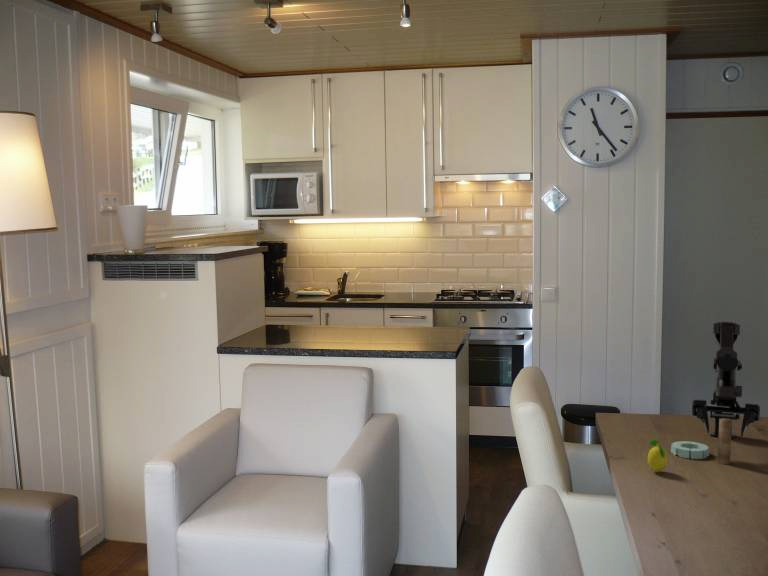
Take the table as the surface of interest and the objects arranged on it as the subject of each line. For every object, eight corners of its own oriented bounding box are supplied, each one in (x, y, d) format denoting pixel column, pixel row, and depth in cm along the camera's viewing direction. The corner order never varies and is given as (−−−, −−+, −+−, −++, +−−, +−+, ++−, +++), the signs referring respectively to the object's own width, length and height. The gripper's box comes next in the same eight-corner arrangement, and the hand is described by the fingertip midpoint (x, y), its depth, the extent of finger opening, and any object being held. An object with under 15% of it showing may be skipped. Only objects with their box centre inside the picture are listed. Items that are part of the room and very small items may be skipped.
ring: (679, 447, 262) (680, 439, 262) (713, 453, 256) (713, 445, 255) (666, 454, 255) (666, 446, 254) (700, 461, 248) (700, 452, 248)
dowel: (720, 460, 249) (721, 417, 248) (731, 462, 246) (733, 419, 245) (715, 462, 246) (717, 419, 245) (727, 465, 244) (729, 421, 243)
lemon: (649, 467, 242) (650, 433, 241) (669, 470, 239) (671, 436, 238) (643, 473, 236) (644, 439, 235) (664, 476, 233) (665, 442, 232)
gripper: (693, 372, 253) (691, 416, 244) (760, 377, 246) (761, 422, 237) (693, 393, 261) (691, 436, 251) (758, 398, 254) (758, 442, 245)
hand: (724, 434), depth 246 cm, fingers open, 9 cm apart
